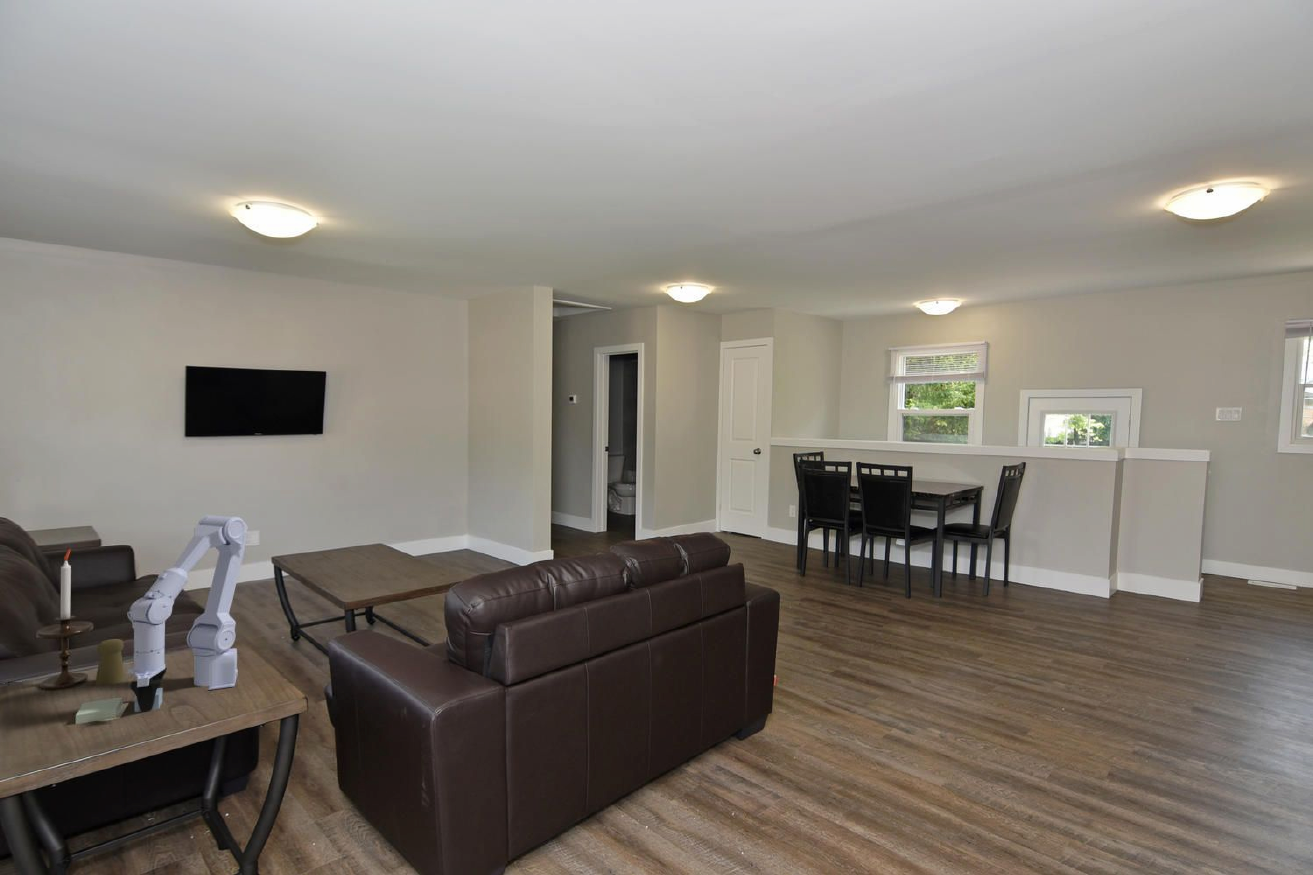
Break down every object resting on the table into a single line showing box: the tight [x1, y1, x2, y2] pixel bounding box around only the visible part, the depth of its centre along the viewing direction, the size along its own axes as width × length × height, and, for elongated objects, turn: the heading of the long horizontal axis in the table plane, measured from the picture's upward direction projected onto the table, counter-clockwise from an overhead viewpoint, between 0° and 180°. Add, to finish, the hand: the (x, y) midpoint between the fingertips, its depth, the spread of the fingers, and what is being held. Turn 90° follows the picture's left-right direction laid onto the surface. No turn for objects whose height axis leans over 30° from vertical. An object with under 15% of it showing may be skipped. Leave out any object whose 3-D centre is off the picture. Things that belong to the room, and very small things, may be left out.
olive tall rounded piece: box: [94, 638, 126, 687], centre depth 168 cm, size 6×6×11 cm
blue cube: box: [134, 687, 163, 713], centre depth 153 cm, size 4×4×4 cm
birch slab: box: [98, 702, 129, 722], centre depth 148 cm, size 9×9×2 cm
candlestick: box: [35, 548, 94, 691], centre depth 167 cm, size 11×11×35 cm
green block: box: [75, 696, 123, 725], centre depth 148 cm, size 7×7×2 cm
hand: (148, 705), depth 153 cm, fingers closed on blue cube, 4 cm apart
